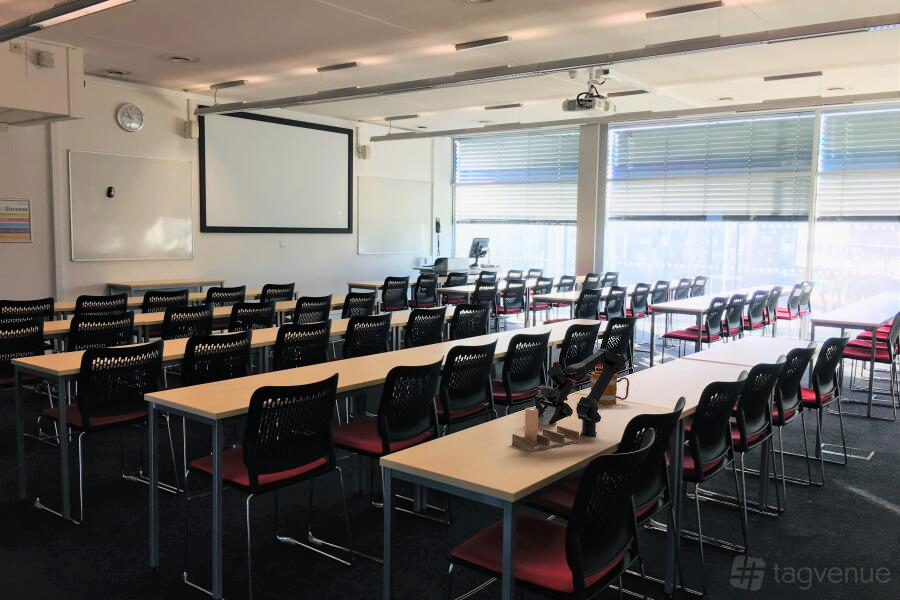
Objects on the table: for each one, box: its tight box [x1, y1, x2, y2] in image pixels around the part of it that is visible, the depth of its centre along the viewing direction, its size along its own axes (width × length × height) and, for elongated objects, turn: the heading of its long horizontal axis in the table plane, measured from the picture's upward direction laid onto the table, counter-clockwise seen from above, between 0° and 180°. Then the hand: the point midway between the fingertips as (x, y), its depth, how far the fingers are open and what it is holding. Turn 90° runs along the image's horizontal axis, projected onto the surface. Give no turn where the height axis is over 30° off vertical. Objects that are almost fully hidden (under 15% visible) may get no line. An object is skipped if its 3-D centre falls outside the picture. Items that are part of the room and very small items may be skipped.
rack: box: [511, 425, 580, 452], centre depth 298 cm, size 26×12×4 cm, turn 126°
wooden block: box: [523, 407, 539, 445], centre depth 293 cm, size 5×5×14 cm
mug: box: [590, 370, 630, 406], centre depth 374 cm, size 20×14×15 cm
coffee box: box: [535, 385, 557, 426], centre depth 331 cm, size 9×6×16 cm
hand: (541, 422), depth 296 cm, fingers open, 9 cm apart
